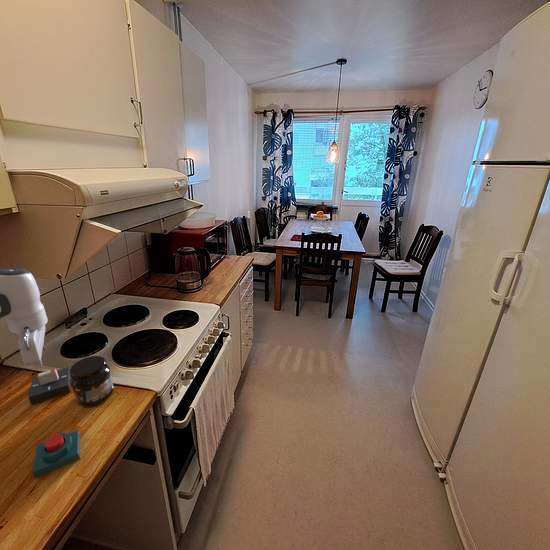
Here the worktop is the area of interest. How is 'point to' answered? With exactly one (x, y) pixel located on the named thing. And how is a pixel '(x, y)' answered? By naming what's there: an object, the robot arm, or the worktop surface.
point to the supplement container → (91, 381)
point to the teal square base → (57, 454)
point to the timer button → (54, 443)
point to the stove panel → (50, 387)
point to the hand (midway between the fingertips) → (40, 358)
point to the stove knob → (48, 376)
